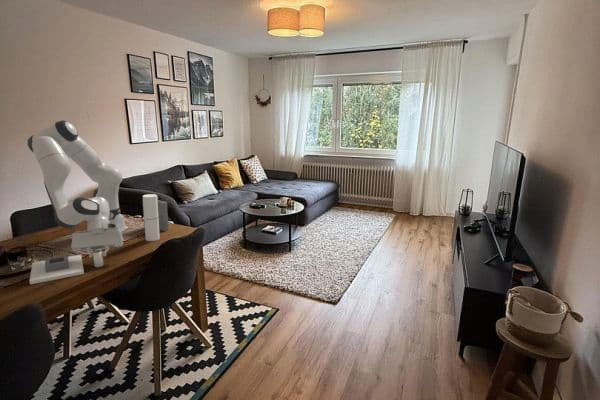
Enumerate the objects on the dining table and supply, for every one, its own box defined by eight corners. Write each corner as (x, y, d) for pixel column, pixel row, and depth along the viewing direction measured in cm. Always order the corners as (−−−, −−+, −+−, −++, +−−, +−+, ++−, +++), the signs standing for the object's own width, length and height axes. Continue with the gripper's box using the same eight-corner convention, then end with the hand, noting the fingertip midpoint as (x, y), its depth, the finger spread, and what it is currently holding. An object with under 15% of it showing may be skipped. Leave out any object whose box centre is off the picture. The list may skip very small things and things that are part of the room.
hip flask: (143, 228, 199) (141, 196, 194) (147, 226, 203) (145, 195, 198) (166, 231, 196) (164, 199, 191) (170, 229, 199) (168, 197, 195)
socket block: (33, 265, 144) (31, 256, 143) (81, 257, 155) (80, 248, 154) (30, 284, 129) (28, 274, 128) (84, 273, 139) (82, 264, 138)
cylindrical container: (154, 241, 178) (151, 197, 172) (142, 240, 180) (139, 196, 174) (162, 237, 185) (159, 194, 179) (151, 236, 186) (148, 193, 181)
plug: (94, 264, 148) (92, 248, 146) (103, 263, 150) (101, 247, 148) (94, 267, 145) (92, 251, 143) (103, 266, 147) (102, 249, 145)
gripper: (70, 228, 145) (68, 256, 139) (122, 224, 154) (122, 251, 147) (73, 234, 150) (71, 262, 144) (123, 230, 159) (123, 256, 152)
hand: (97, 256), depth 146 cm, fingers closed on plug, 3 cm apart
